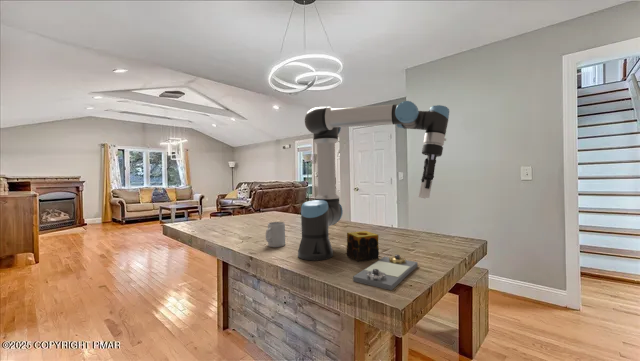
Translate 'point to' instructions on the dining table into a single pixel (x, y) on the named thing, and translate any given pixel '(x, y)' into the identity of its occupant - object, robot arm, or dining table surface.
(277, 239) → the mug
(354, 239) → the candle
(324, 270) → the dining table surface
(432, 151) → the robot arm
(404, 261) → the gear board
